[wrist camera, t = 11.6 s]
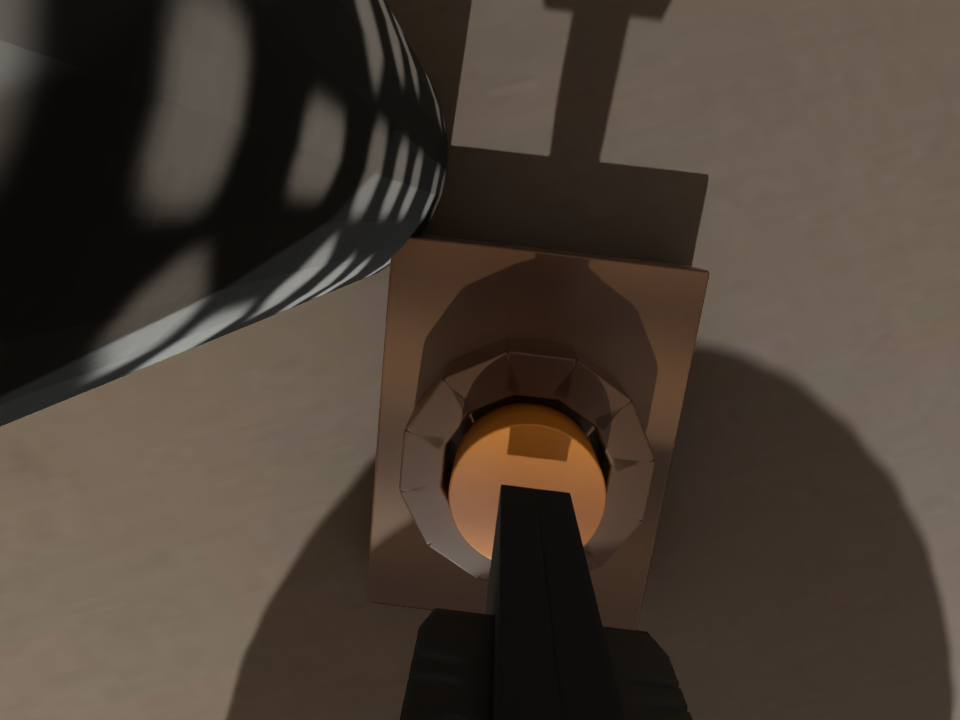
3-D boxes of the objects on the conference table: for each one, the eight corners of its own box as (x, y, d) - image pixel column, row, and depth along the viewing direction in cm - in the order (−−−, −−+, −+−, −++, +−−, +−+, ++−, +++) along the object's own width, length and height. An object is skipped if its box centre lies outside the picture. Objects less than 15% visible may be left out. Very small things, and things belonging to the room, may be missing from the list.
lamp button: (461, 393, 16) (456, 414, 14) (606, 411, 16) (618, 434, 14) (447, 524, 17) (440, 558, 15) (584, 541, 17) (593, 577, 15)
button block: (405, 232, 19) (378, 235, 15) (687, 265, 18) (736, 277, 14) (378, 564, 21) (350, 641, 17) (623, 595, 21) (649, 679, 17)
